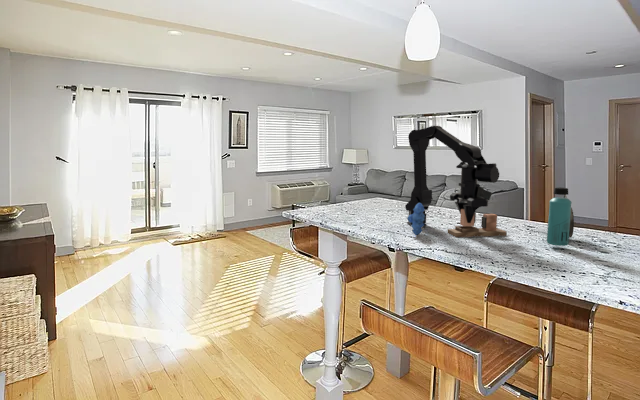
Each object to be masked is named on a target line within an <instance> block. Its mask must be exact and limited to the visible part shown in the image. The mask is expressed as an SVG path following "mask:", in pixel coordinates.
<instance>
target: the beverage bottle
mask: <svg viewBox="0 0 640 400" xmlns="http://www.w3.org/2000/svg"><path fill="white" fill-rule="evenodd" d="M553 195H559V196H560V195H561V196H564V195H566V196H568V195H569V188H568V187H554V189H553ZM571 208H572V201H571V200H570V199H569V198H568V197H567V198H566V197H565V198H564V197H558V196H557V197H552V198H551V199H550V200H549V208H548V219H547V228H546V230H547V233H546V242H547V244H548V245H552V246H559V247H566V246H568V245H569V242H570V238H571V237H570V231H569V229H570V217H571Z"/></svg>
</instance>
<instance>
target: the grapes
mask: <svg viewBox="0 0 640 400" xmlns="http://www.w3.org/2000/svg"><path fill="white" fill-rule="evenodd" d="M424 210H425V209H424V207H423V205H422V204H421V203H418V204H416V206H415V208H414V209H413V211H414V213H413V214H411V215H409V214H408V216H407V217H406V219H407V222H408V221H409V222H410V223H413V224H412V225H410V227H411V228H412V230H411V231H412V233H413V235H415V236H418V235H420V234H422V233H423V227H424V223H423V221H424V220H425V219H424V217H425V215H424V214H423V213H422V212H423V211H424ZM425 211H426V210H425Z"/></svg>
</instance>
